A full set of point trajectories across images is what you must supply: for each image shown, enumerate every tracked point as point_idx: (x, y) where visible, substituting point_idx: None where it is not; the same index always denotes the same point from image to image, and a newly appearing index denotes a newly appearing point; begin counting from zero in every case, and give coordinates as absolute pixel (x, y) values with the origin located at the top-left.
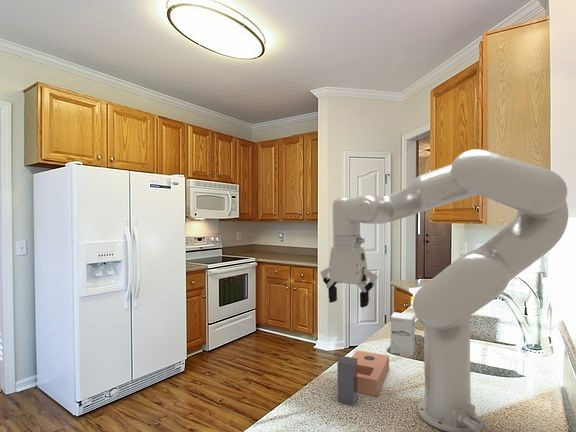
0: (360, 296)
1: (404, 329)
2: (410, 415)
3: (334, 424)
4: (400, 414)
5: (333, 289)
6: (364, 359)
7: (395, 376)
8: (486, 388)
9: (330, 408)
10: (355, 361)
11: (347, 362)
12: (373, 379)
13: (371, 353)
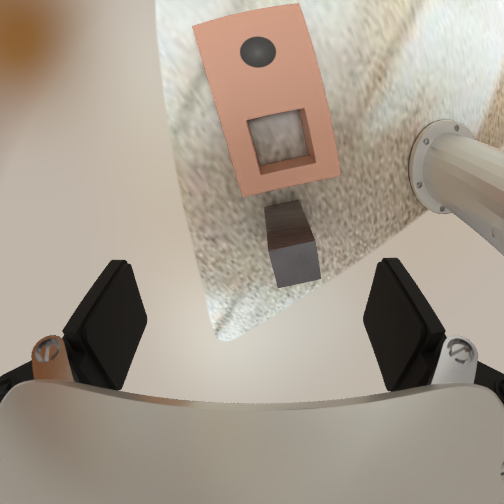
0: (384, 373)
1: None
2: (399, 195)
3: (301, 291)
4: (385, 203)
5: (109, 366)
6: (251, 70)
7: (326, 46)
8: (472, 31)
9: None
10: (317, 257)
11: (303, 278)
12: (331, 176)
13: (245, 17)
